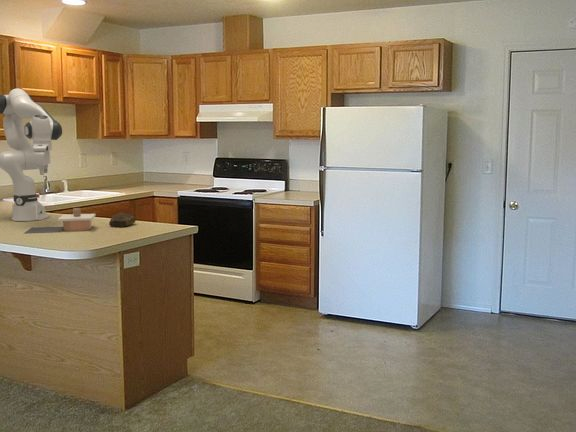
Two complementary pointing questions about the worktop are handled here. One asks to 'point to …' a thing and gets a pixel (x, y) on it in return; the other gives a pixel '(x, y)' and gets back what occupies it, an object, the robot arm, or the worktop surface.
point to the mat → (44, 230)
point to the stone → (122, 220)
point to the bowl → (77, 225)
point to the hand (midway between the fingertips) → (43, 173)
